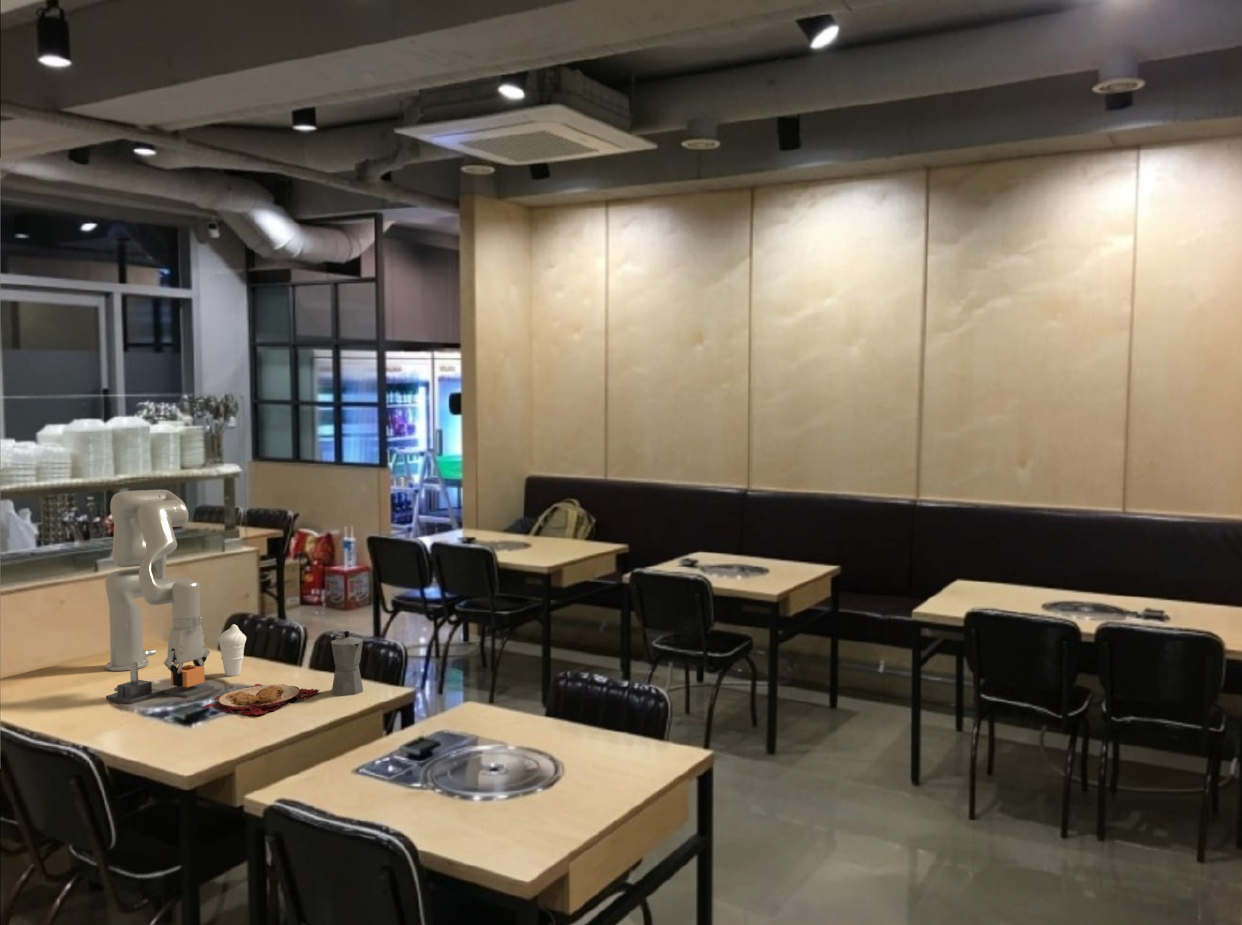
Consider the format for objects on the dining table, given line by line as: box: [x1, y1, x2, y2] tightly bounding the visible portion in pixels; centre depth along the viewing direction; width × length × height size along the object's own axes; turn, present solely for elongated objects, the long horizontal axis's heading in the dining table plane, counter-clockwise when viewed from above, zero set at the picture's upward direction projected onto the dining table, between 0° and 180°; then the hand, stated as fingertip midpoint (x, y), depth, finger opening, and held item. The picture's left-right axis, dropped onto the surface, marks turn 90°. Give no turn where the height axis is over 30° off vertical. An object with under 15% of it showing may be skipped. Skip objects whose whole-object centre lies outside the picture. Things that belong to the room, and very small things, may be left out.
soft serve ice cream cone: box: [217, 624, 247, 677], centre depth 315 cm, size 8×8×16 cm
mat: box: [163, 683, 215, 698], centre depth 296 cm, size 10×10×1 cm
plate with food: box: [202, 683, 320, 716], centre depth 286 cm, size 24×26×4 cm
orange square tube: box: [170, 664, 206, 687], centre depth 296 cm, size 6×6×4 cm
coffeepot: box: [330, 630, 364, 696], centre depth 296 cm, size 15×9×18 cm, turn 44°
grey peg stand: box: [105, 662, 164, 705], centre depth 289 cm, size 11×10×10 cm
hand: (187, 682), depth 296 cm, fingers closed on orange square tube, 6 cm apart
